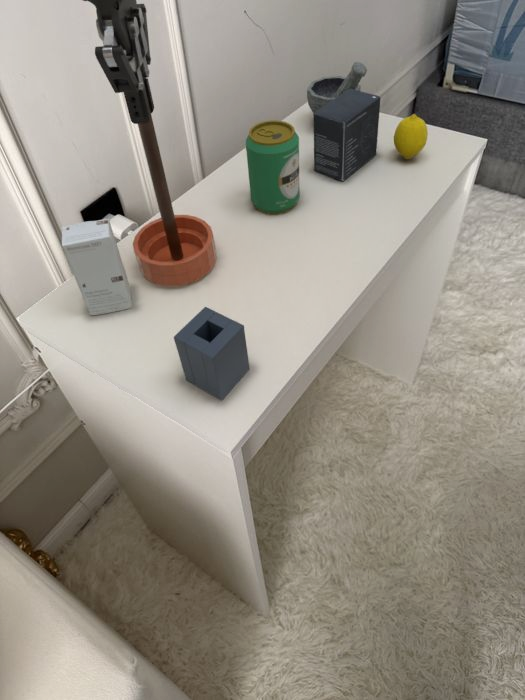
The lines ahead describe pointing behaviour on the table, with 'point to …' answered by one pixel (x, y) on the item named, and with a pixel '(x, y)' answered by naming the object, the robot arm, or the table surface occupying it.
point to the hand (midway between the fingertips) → (143, 116)
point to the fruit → (410, 136)
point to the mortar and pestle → (334, 87)
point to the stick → (160, 186)
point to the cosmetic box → (97, 266)
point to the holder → (213, 352)
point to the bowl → (158, 259)
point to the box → (346, 133)
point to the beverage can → (273, 166)
